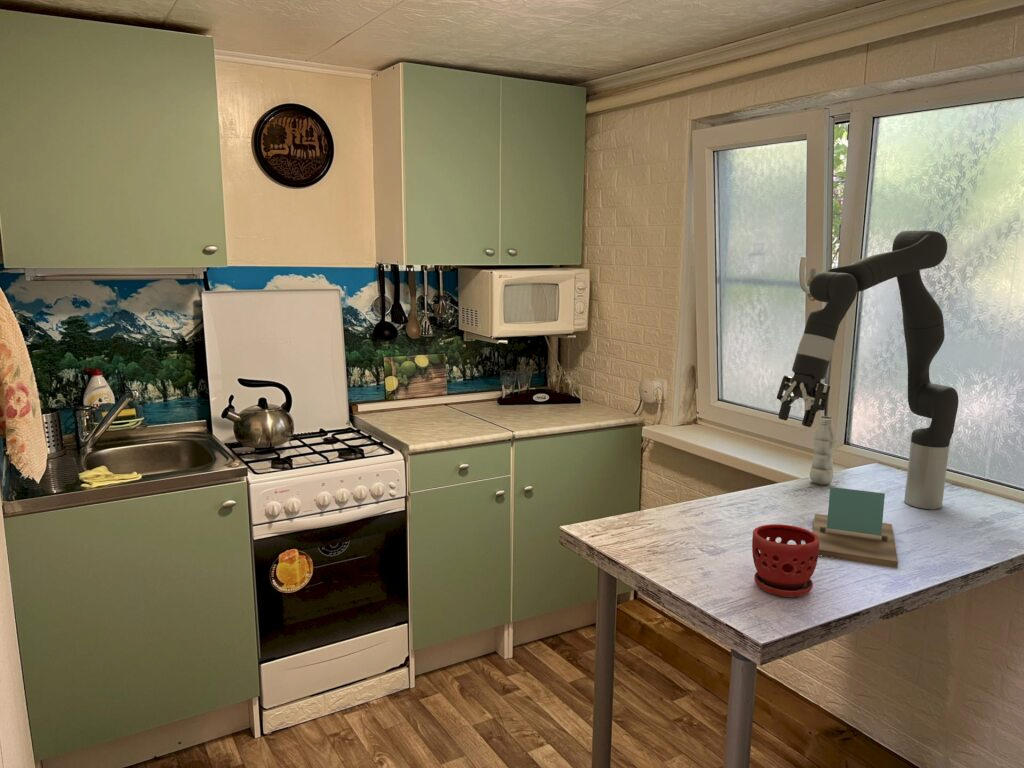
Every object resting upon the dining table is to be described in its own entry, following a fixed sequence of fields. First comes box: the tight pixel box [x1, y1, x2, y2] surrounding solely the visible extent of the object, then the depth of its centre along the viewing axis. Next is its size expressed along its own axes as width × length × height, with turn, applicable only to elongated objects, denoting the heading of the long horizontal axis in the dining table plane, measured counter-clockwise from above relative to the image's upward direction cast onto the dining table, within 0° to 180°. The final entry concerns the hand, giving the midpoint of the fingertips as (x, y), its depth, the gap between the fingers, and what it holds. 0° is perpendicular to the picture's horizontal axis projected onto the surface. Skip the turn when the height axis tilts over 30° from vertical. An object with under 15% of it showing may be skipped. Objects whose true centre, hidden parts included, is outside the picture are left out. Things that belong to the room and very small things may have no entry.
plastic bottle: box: [809, 415, 838, 486], centre depth 228 cm, size 6×7×20 cm
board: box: [812, 513, 899, 569], centre depth 187 cm, size 24×18×3 cm
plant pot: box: [751, 523, 819, 598], centre depth 162 cm, size 13×13×12 cm
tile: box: [827, 486, 886, 536], centre depth 187 cm, size 10×12×1 cm
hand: (794, 422), depth 183 cm, fingers open, 8 cm apart
